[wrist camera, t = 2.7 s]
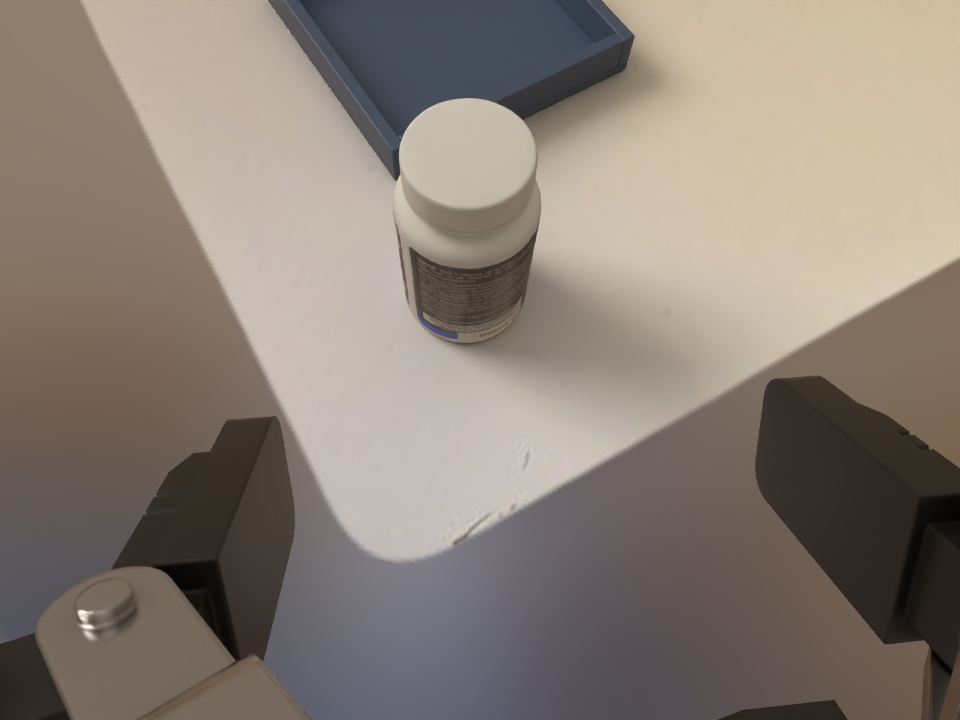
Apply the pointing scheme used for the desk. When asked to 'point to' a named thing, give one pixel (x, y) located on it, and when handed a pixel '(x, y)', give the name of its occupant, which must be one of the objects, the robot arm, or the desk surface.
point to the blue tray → (453, 55)
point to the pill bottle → (466, 217)
